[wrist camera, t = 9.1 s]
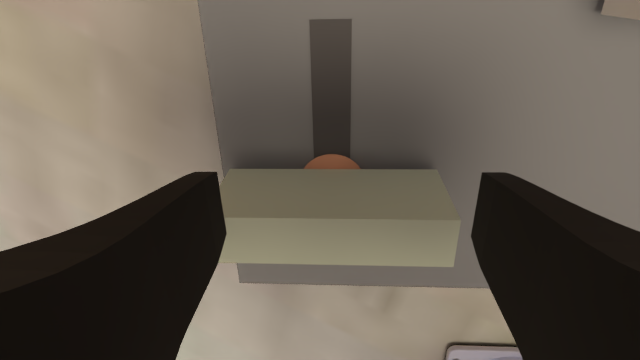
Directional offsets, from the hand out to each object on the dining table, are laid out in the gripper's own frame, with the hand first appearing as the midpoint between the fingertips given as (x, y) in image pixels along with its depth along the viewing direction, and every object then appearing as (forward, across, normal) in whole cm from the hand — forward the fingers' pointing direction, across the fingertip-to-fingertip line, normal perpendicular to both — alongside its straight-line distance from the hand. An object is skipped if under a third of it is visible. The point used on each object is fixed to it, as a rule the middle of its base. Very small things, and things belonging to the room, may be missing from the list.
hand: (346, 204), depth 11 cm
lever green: (+6, +1, +3) cm, 7 cm away
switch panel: (+8, -6, +1) cm, 11 cm away
